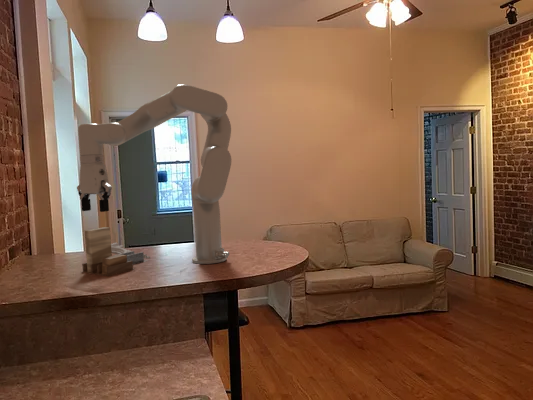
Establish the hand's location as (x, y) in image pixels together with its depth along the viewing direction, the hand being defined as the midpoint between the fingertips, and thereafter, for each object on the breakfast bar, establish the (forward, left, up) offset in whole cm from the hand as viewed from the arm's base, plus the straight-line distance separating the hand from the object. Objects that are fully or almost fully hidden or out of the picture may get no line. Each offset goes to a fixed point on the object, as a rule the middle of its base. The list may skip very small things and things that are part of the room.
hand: (95, 211), depth 158 cm
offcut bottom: (-8, 0, -20) cm, 22 cm away
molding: (+20, -29, -22) cm, 41 cm away
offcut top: (-8, 0, -18) cm, 19 cm away
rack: (-4, 0, -21) cm, 22 cm away
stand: (-1, -12, -21) cm, 25 cm away
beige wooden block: (0, 0, -20) cm, 20 cm away
